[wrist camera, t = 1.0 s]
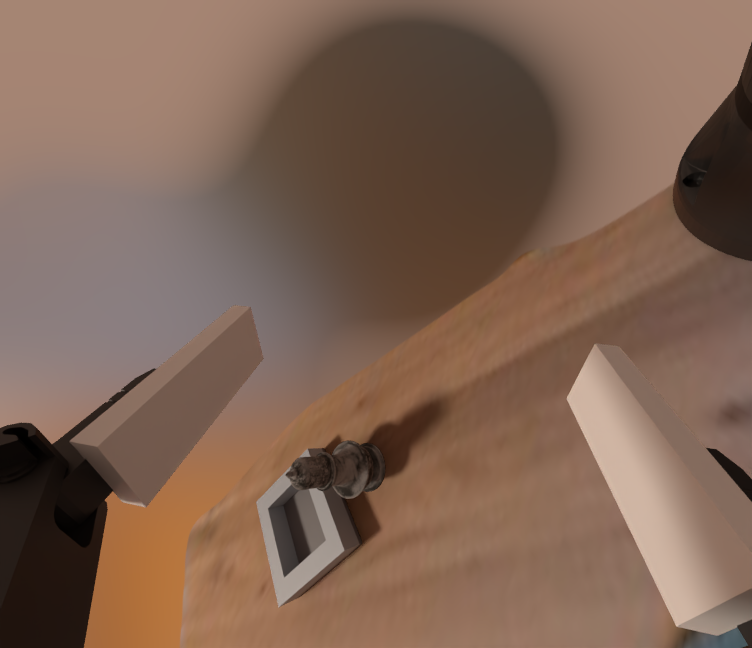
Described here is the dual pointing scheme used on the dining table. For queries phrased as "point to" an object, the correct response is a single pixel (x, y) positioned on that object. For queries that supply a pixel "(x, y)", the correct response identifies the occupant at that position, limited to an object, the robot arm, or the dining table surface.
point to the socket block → (304, 534)
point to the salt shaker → (340, 470)
